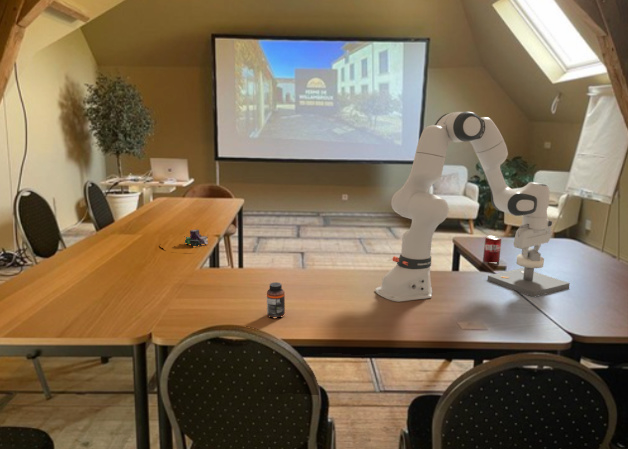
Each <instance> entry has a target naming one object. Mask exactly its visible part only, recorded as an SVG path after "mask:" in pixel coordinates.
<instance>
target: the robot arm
mask: <svg viewBox="0 0 628 449" xmlns="http://www.w3.org/2000/svg"><path fill="white" fill-rule="evenodd" d="M463 142H464V143H465V142H466V143H467V142H469V143H470V145H471V146H472V148H473V151H474V153H475V155H476V157H477V159H478V161H479V163H480V166H481V169H482V171H483V174H484V177H485V179H486V183H487V184H488V186H489V190H490V201H491V205H492V207H493V208H494V209H495V210H496V211H499V212H503V213H506V214H509V215H512V216H515V217H517V216H518V217H519V216H520V217H521V216H522V220H521V222H522V223H521V225H520V226H519V227H518V228H517V230H516V231H515V236H514V241H513V246H514V248H516V249H519V250H520V249H521V252H522V251H523V257H526V258H527V257H529V253H528V249H529V247H530V248H532V247H533V249H534V250H535V251H537V252H539V250H540V248H541V247H542V244H547V243H549V241H550V239H551V236H552V227H553V225H554V221H553V220H551V219H548V208H549V204H550V188H549V186H548V185H546V184H544V183H541V182H536V181H529V182H528V183H527V184H526V185H524V186H523V187H520V188H518V189H516V190H515V189H513V188H511V187H510V186H509V185H508V184H507V183H506V181H505V179H504V175H503V173H502V170H501V165H502V164H503V163H505V161H507V160H506V159H507V158H508V156H509V152H508V147H507V144H506V142H505V139H504V137H503V136H502V134H501V131H500V130H499V128H498V127H497V125H496V124H495V122H494V121H493V120H492V118H490V117H488V116H482V117H481V116H479V114H477V113H475V112H472V111H454V112H449V113H445V114H443V115H441V116H440V117H439V118H438V119H437V120H436V122H435V123H434V124H431V125H428V126H426V127H424V128H423V129H422V132H421V135H420V137H419V140H418V142H417V145H416V151H415V154H414V159H413V162H412V167H411V170H410V173H409V175H408V177H407V179H406V181H405V183H404V184H403V185H402V187H400V189H399V190H397V191H396V192H394V193H393V195H392V197H391V202H390V203H391V204H390V205H391V208H392V211H394V212H395V213H396V214H398V215H400V217H403V218H407V219H409V220H411V224H410V227H409V229H408V230H406V231H405V232H404V233H403V234H402V236H401V249H400V250H401V251H400V252H401V253H400V254H399V256H395V255H394V256H393V257H392V262H394V263H396V265H395V266H394V267H392V268H391V269H390V271H388V272H387V273H386V274H385V275H384V276H383V278H382V281H381V285H380V286H378V287H375V290H374V291H375V293H376V294H378V295H379V296H381V297H382V298H384V299H386V300H389V301H391V302H407V301H415V300H425V299H430V298H431V299H432V295H433V288H432V282H431V281H432V280H431V266H432V256H431V254H432V252H431V250H432V242H433V236H434V234H435V231H436V229H437V228H438V226H439V225H440V224H442V223H443V222H444V221H445V220H446V219H447V217H448V214H449V210H450V208H449V204H448V202H447V200H446V199H444V198H443V197H441V196H439V195H436V194H434V193H429V190H430V188H431V187H432V186H433V185H434V184H435V183H437V182H438V181H439V180H441V177H442V173H443V170H444V165H445V161H446V157H447V150H448V148H449V147H450V146H451V143H463Z"/></svg>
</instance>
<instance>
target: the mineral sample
mask: <svg viewBox="0 0 628 449" xmlns="http://www.w3.org/2000/svg"><path fill="white" fill-rule="evenodd" d="M189 234H190V235H189V236H190V237H186V240H185V243H187V244H191V245H192V246H198V245H200V244H208V245H209V242H208V241H209V240H208V235H207V236H206V235H205V236H202V234H200V229H191V230H189ZM185 243H184V244H185ZM192 246H191V247H192ZM200 246H201V245H200Z"/></svg>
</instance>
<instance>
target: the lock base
mask: <svg viewBox="0 0 628 449" xmlns="http://www.w3.org/2000/svg"><path fill="white" fill-rule="evenodd" d="M487 281H489V282H492V283H495V284H497V285H500V286H503V287H505V288H508V289H511V290H513V291H516V292H519V293H522V294H525V295H527V294H528V295H527V296H529V295H530V297H532V296H533V297H532V298H535V296H536V297H539V296H538V295H540V296H543V294H544V295H547V294H550V293H555V292H559V291H562V290H565V289H566V290H567V289H570V282H568V281H565V280H562V279H558V278H555V277H552V276H549V275H546V274H542V273H539V272H537V271H536V272H535V268H527V267H522V268H521V267H520V268H516V269H512V270H508V271H504V272H498V273H494V274H490V275H487Z"/></svg>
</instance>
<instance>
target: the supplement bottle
mask: <svg viewBox="0 0 628 449" xmlns="http://www.w3.org/2000/svg"><path fill="white" fill-rule="evenodd" d="M285 296H286V295H285V290H284V289H283V287H282V283H281V282H276V281H275V282H270V283H269V288H268V289H267V291H266V314H267V317H268V316H270V317H281V316H283V315H284V314H285V315H286V312H285V311H286V309H285V308H286V304H285V302H286V301H285V298H286V297H285ZM285 315H284V316H285ZM284 316H283V317H284ZM270 317H269V318H270Z"/></svg>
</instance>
